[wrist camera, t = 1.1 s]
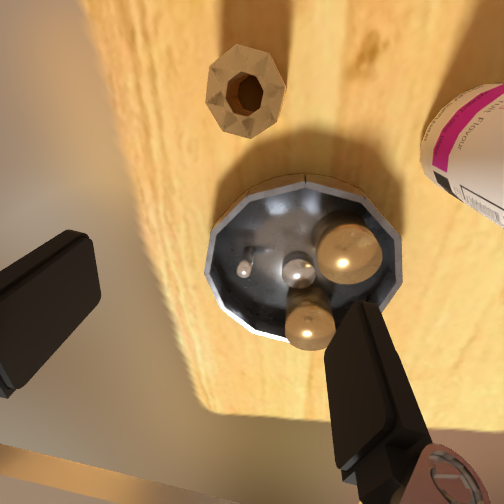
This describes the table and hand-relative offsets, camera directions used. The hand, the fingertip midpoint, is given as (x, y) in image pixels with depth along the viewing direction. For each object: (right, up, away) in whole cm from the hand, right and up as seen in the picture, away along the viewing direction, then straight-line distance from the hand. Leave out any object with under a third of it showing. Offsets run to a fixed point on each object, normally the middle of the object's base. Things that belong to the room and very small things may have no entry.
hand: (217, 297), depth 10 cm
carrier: (+7, +1, +21) cm, 22 cm away
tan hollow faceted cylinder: (+1, +15, +13) cm, 20 cm away
